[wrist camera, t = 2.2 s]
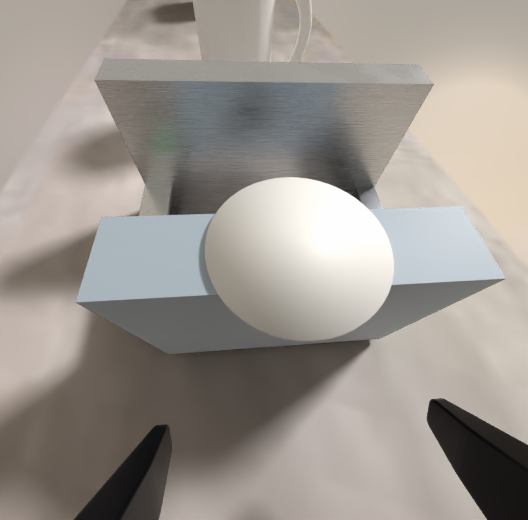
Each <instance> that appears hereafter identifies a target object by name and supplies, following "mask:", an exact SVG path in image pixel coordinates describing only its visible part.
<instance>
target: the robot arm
mask: <svg viewBox="0 0 528 520" xmlns="http://www.w3.org/2000/svg"><path fill="white" fill-rule="evenodd" d="M427 422H428V425H429V427H430V428H431V430H432V432H433V434H434V435H435V437H436V439H437V441H438V442H439V444H440V446H441V448H442V449H443V451H444V453H445V455H446V456H447V458H448V460H449V462H450V463H451V465H452V467H453V469H454V470H455V472H456V474H457V475H458V477H459V478H460V480H461V481H462V483H463V484H464V486H465V487H466V489H467V490H468V492H469V493H470V495H471V496H472V498H473V499H474V501H475V502H476V504H477V505H478V507H479V508H480V510H481V511H482V513H483V514H484V516H485V517H486V519H487V520H528V445H527V444H525V443H523V442H521V441H519V440H518V439H516V438H514V437H512V436H510V435H509V434H507V433H505V432H503V431H501V430H499V429H498V428H496V427H494V426H492V425H490V424H489V423H487V422H485V421H483V420H481V419H480V418H478V417H476V416H474V415H472V414H471V413H469V412H467V411H465V410H463V409H461V408H460V407H458V406H456V405H454V404H452V403H451V402H449V401H447V400H445V399H442V398H439V399H431V400H430V402H429V407H428V413H427ZM171 451H172V442H171V435H170V429H169V426H168V425H157V426H155V427H154V428H153V429H152V430H151V431H150V432H149V433H148V434H147V436H146V437H145V438H144V439H143V440H142V441H141V442H140V444H139V445H138V446H137V447H136V448H135V449H134V451H133V452H132V453H131V454H130V455H129V456H128V458H127V459H126V460H125V461H124V462H123V463H122V464H121V466H120V467H119V468H118V469H117V470H116V471H115V473H114V474H113V475H112V476H111V477H110V478H109V480H108V481H107V482H106V483H105V484H104V485H103V487H102V488H101V489H100V490H99V491H98V492H97V493H96V495H95V496H94V497H93V498H92V499H91V500H90V502H89V503H88V504H87V505H86V506H85V507H84V509H83V510H82V511H81V512H80V513H79V514H78V515H77V517H76V518H75V519H74V520H159V516H160V512H161V506H162V501H163V496H164V490H165V485H166V479H167V473H168V468H169V462H170V457H171Z"/></svg>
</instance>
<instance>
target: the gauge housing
mask: <svg viewBox="0 0 528 520" xmlns="http://www.w3.org/2000/svg"><path fill="white" fill-rule="evenodd" d="M95 82H96V84H97V86H98V88H99V90H100V92H101V94H102V96H103V98H104V101H105V103H106V105H107V107H108V109H109V111H110V113H111V115H112V117H113V119H114V121H115V123H116V125H117V127H118V129H119V131H120V133H121V135H122V138H123V140H124V142H125V144H126V146H127V148H128V150H129V152H130V154H131V156H132V158H133V160H134V162H135V164H136V166H137V168H138V170H139V173H140V175H141V177H142V179H143V181H144V183H145V188H144V193H143V197H142V202H141V207H140V212H139V216H156V215H190V214H216V212H217V211H218V209H219V208H220V207H221V206H222V205H223V204H224V202H226V201H227V200H228V199H229V198H230V197H231V196H232V195H234V194H235V193H237V192H238V191H240V190H242V189H244V188H245V187H247V186H249V185H252V184H255V183H257V182H260V181H264V180H268V179H274V178H283V177H298V178H306V179H312V180H317V181H320V182H324V183H327V184H330V185H332V186H334V187H337V188H339V189H341V190H343V191H345V192H347V193H348V194H350V195H351V196H353V197H354V198H356V199H357V200H359V201H360V202H361V203H362V204H363V205H365V206H366V207H367V208H368V209H383V208H382V205H381V203H380V200H379V198H378V195H377V193H376V190H375V188H374V186H375V184H376V183H377V181H378V179H379V178H380V176H381V174H382V172H383V171H384V169H385V167H386V166H387V164H388V162H389V160H390V159H391V157H392V155H393V154H394V152H395V150H396V148H397V147H398V145H399V143H400V142H401V140H402V138H403V136H404V135H405V133H406V131H407V129H408V128H409V126H410V124H411V123H412V121H413V119H414V117H415V116H416V114H417V112H418V110H419V109H420V107H421V105H422V104H423V102H424V100H425V98H426V97H427V95H428V93H429V92H430V90H431V88H432V86H433V85H434V84H433V82H432V81H431V80H430V79H429V77H428V76H427V75H426V74H425V72H424V71H423V69H422V68H421V67H420V66H419V65H404V64H402V65H401V64H353V63H301V62H249V61H197V60H145V59H104V61H103V63H102V65H101V67H100V69H99V71H98V73H97V76H96V78H95Z"/></svg>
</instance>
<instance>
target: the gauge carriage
mask: <svg viewBox="0 0 528 520" xmlns="http://www.w3.org/2000/svg"><path fill="white" fill-rule="evenodd" d="M504 279H506V278H505V276H504V275H503V273H502V271H501V270H500V268H499V266H498V265H497V263H496V261H495V260H494V258H493V256H492V255H491V253H490V251H489V250H488V248H487V246H486V245H485V243H484V241H483V240H482V238H481V237H480V235H479V233H478V232H477V230H476V228H475V227H474V225H473V223H472V222H471V220H470V218H469V217H468V215H467V213H466V212H465V210H464V208H463V207H462V206H461V207H427V208H393V209H368V208H367V207H366V206H365V205H363V204H362V203H361V202H360V201H359V200H357V199H356V198H354V197H353V196H351V195H350V194H348V193H347V192H345V191H343V190H341V189H339V188H337V187H334V186H332V185H330V184H327V183H324V182H320V181H317V180H312V179H306V178H298V177H283V178H274V179H268V180H264V181H260V182H257V183H255V184H252V185H249V186H247V187H245V188H244V189H242V190H240V191H238V192H237V193H235V194H234V195H232V196H231V197H230V198H229V199H228V200H227V201H226V202H224V204H223V205H222V206H221V207H220V208H219V209H218V211H217V212H216V214H190V215H156V216H122V217H101V220H100V223H99V226H98V230H97V233H96V236H95V240H94V243H93V246H92V249H91V253H90V256H89V259H88V263H87V266H86V269H85V273H84V276H83V279H82V283H81V286H80V289H79V293H78V296H77V299H76V303H78V304H79V305H81V306H83V307H85V308H86V309H88V310H90V311H92V312H94V313H95V314H97V315H99V316H101V317H103V318H104V319H106V320H108V321H110V322H112V323H113V324H115V325H117V326H119V327H120V328H122V329H124V330H126V331H128V332H129V333H131V334H133V335H135V336H137V337H138V338H140V339H142V340H144V341H146V342H147V343H149V344H151V345H153V346H154V347H156V348H158V349H160V350H162V351H163V352H165V353H167V354H178V353H192V352H206V351H219V350H233V349H247V348H260V347H274V346H288V345H302V344H315V343H329V342H343V341H356V340H370V339H380V338H382V337H384V336H386V335H388V334H390V333H392V332H394V331H397V330H399V329H401V328H403V327H405V326H407V325H409V324H411V323H413V322H416V321H418V320H420V319H422V318H424V317H426V316H428V315H430V314H432V313H435V312H437V311H439V310H441V309H443V308H445V307H447V306H449V305H451V304H453V303H456V302H458V301H460V300H462V299H464V298H466V297H468V296H470V295H472V294H475V293H477V292H479V291H481V290H483V289H485V288H487V287H489V286H491V285H494V284H496V283H498V282H500V281H502V280H504Z"/></svg>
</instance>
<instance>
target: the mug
mask: <svg viewBox="0 0 528 520" xmlns="http://www.w3.org/2000/svg"><path fill="white" fill-rule="evenodd" d="M192 1H193V7H194V13H195V19H196V25H197V32H198V38H199V44H200V50H201V57H202V61H249V62H271V48H272V35H273V22H274V10H275V3H276V0H192ZM295 1H296V3H297V6H298V10H299V16H300V25H299V32H298V37H297V41H296V44H295V47H294V49H293V52H292V54H291V56H290V57H289V58H288V60H287V61H286V62H300V61H301V59H302V57H303V55H304V52H305V50H306V47H307V44H308V40H309V36H310V31H311V24H312V7H311V0H295Z"/></svg>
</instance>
